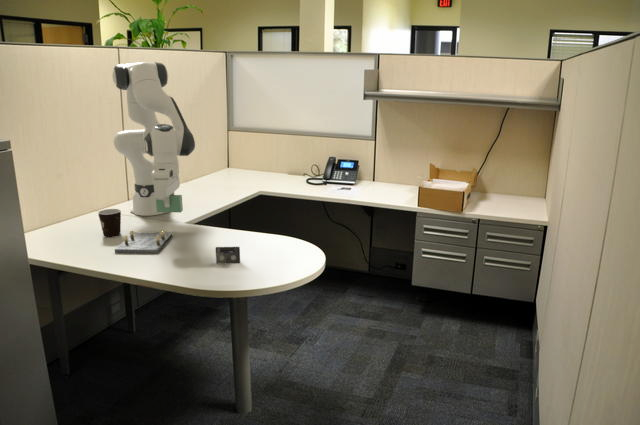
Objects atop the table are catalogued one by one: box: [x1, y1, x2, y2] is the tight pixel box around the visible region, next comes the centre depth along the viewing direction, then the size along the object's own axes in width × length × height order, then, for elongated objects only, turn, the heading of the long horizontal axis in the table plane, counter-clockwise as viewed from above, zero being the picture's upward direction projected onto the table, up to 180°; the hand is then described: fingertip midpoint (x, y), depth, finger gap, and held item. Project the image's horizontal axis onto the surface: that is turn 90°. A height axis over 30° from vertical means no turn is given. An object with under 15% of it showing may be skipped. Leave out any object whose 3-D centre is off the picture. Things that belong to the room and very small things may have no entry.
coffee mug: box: [97, 208, 122, 238], centre depth 216 cm, size 12×9×10 cm
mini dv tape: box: [215, 246, 241, 265], centre depth 187 cm, size 8×2×6 cm, turn 92°
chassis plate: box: [114, 230, 174, 254], centre depth 206 cm, size 20×16×4 cm
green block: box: [156, 194, 184, 213], centre depth 200 cm, size 3×9×6 cm, turn 90°
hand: (169, 205), depth 200 cm, fingers closed on green block, 3 cm apart
